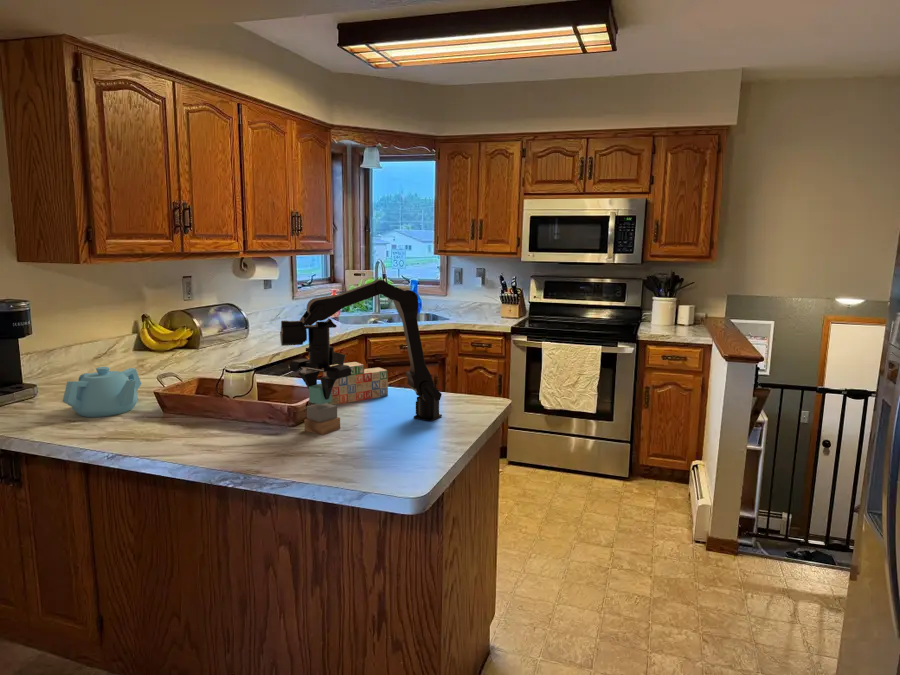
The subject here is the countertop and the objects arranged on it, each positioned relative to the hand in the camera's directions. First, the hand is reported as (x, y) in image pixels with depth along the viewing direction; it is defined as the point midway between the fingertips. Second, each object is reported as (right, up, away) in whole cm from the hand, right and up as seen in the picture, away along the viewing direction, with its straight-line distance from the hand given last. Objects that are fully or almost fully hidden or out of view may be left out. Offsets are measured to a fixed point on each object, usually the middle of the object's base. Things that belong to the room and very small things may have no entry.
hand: (320, 398), depth 165 cm
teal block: (0, -1, 0) cm, 1 cm away
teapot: (-70, -6, +17) cm, 73 cm away
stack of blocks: (+5, -4, +34) cm, 35 cm away
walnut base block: (0, -9, +1) cm, 9 cm away
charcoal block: (0, -6, +1) cm, 6 cm away
